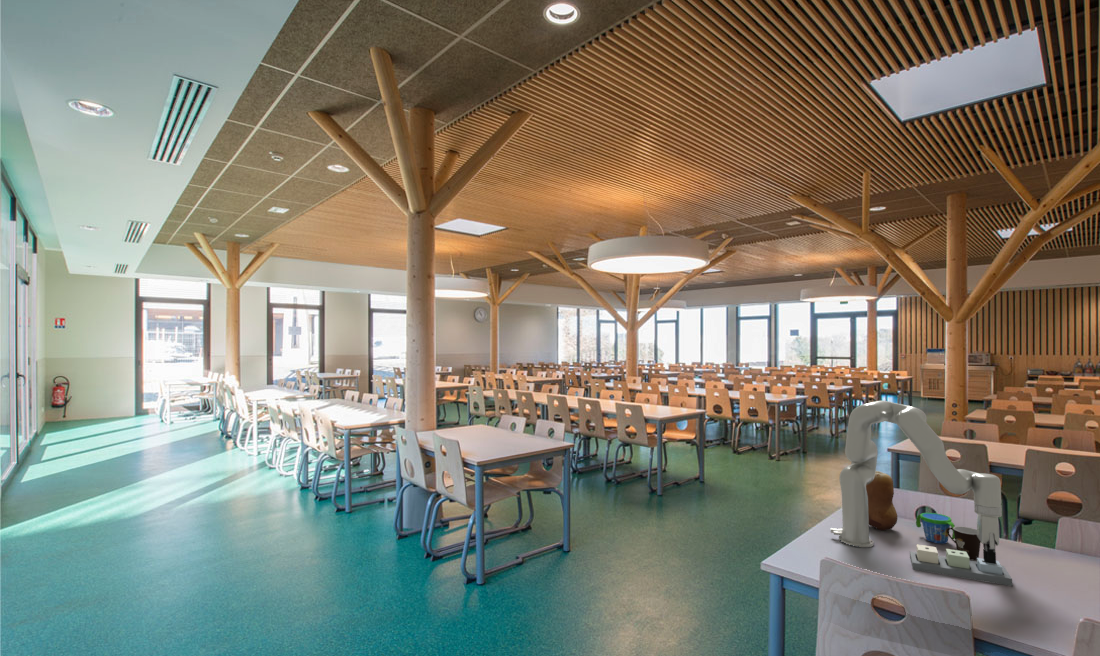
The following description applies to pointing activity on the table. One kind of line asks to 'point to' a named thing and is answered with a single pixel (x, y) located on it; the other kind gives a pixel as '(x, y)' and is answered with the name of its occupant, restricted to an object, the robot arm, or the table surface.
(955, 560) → the two-dot tile
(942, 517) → the snack cup
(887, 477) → the butternut squash
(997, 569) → the tile
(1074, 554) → the table surface
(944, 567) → the board
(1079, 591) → the table surface
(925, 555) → the tile
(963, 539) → the coffee mug
